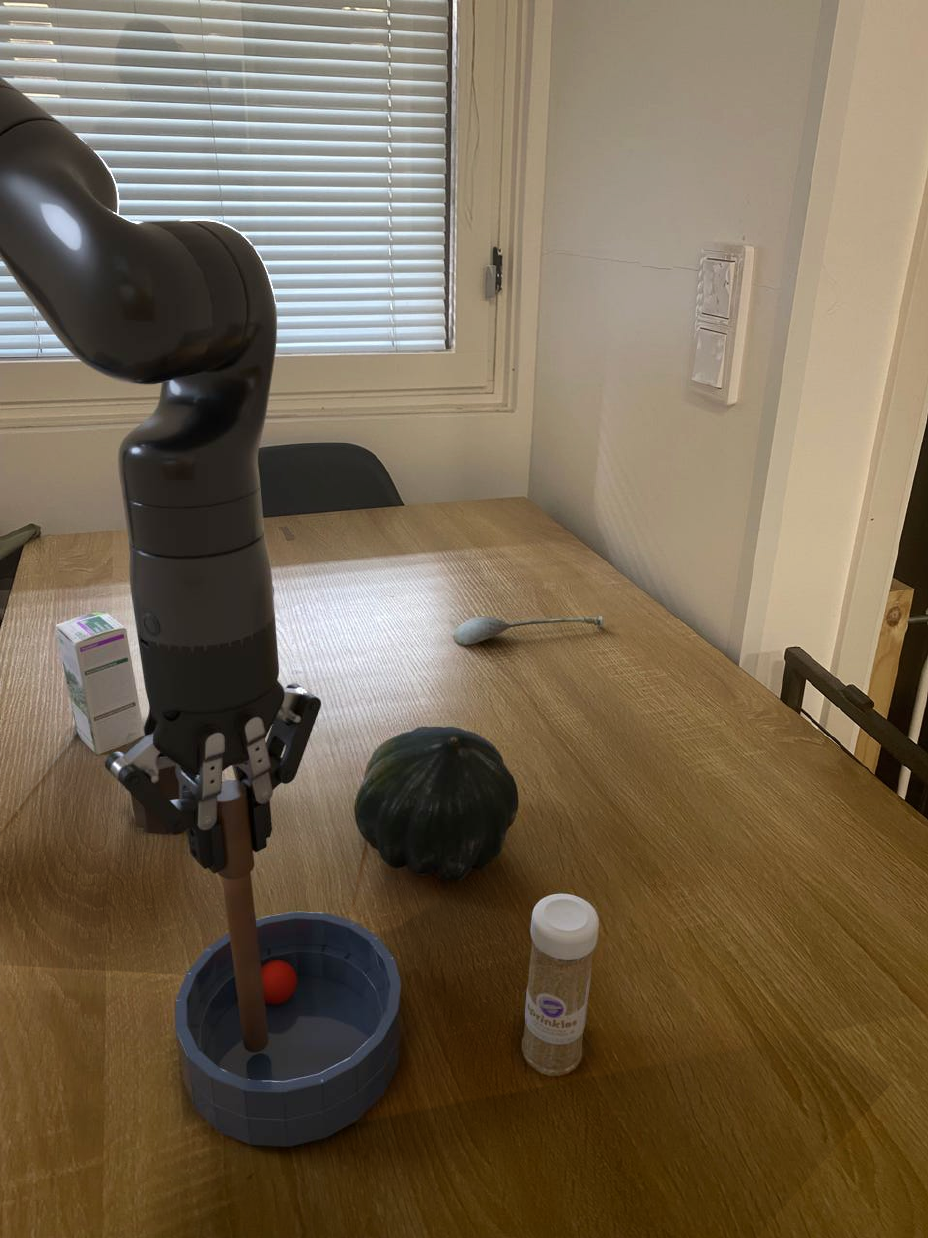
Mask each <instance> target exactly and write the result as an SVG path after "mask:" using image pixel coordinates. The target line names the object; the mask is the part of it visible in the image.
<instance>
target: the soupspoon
mask: <svg viewBox="0 0 928 1238" xmlns="http://www.w3.org/2000/svg"><path fill="white" fill-rule="evenodd" d="M578 622H579V623H581V624H584V623H586V624H588V625H593V626H597V628H598V629H601V628H602V627H603V625H604V618H603V616H601V615H599V616H598V618H597V617H594V618H593V617H587V618H585V617H584V616H582V617H581V618H580V617H571V618H570V617H564V618H561V617H560V618H545V619H530V620H529V619H528V620H527V619H526V620H520V621H513V622H506V621H504V620H502V619H500V618H497V617H493V616H489V615H487V616H486V615H483V616H481V615H480V616H476V617H472V618H470V619H468V620H465V621H464V622H463V623H461V624H460V625H459V626H458V627H457V628H456V629H455V630H454V632H453V635H452V638H453V641H454V642H455V643H456V644H458V645H461V646H471V645H474V644H478V643H481V642H483V641H487V640H488V639H491V638H493V637H495V636H499V634H501V633H503V632H505V631H507V630H509V628H516V627H521V626H529V625H537V624H538V625H539V624H552V623H553V624H555V623H556V624H557V623H578Z"/></svg>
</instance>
